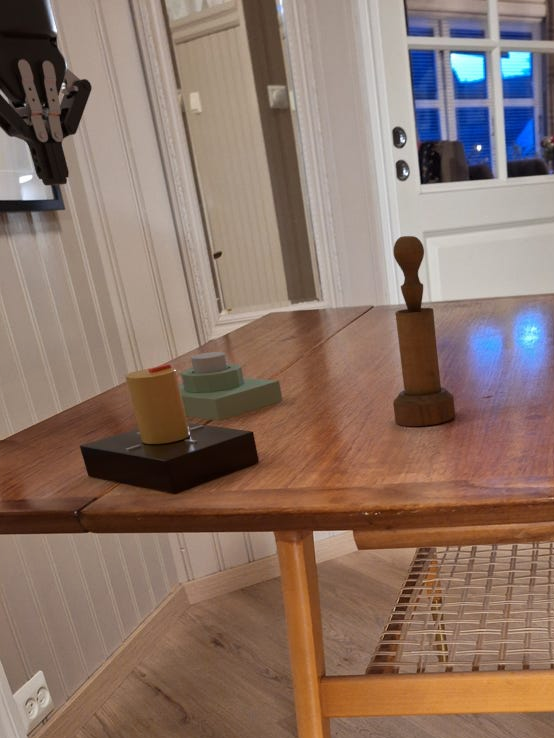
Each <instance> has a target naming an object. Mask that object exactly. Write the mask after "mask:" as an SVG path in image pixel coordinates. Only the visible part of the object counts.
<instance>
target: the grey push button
mask: <svg viewBox="0 0 554 738" xmlns="http://www.w3.org/2000/svg"><path fill="white" fill-rule="evenodd" d="M190 360H191V361H190V362H191V365H192V366H191V367H192V368H193V370H194V373H198V374H202V373H213V372H220V371H223V370H227V369H228V365H227V364H228V360H227V355H226V353H225V352H223V351H211V352H203V353H198V354H197V353H196V354H194V355H192V356H190Z"/></svg>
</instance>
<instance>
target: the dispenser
mask: <svg viewBox="0 0 554 738" xmlns="http://www.w3.org/2000/svg"><path fill="white" fill-rule="evenodd" d="M227 365H228V369H227V370H223V371H220V372H213V373H202V374H198V373H194V370H193V367H190V368H187V369H185V370H183V371H181V372H180V376H181V381H182V383H179V387H180V391H181V396H182V400H183V404H184V409H185V413H186V417H187V418H196V419H202V420H211V421H218V422H220V421H223V420H227V419H230V418H233V417H236V416H239V415H243V414H246V413H249V412H252V411H255V410H258V409H259V410H260V409H261V408H265V407H269V406H271V405H274V404H277V403H281V402H283V395H282V390H281V383H280V381H279V380H275V379H263V378H252V377H244V374H243V369H242V366H241V365H240V364H238V363H227Z"/></svg>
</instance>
